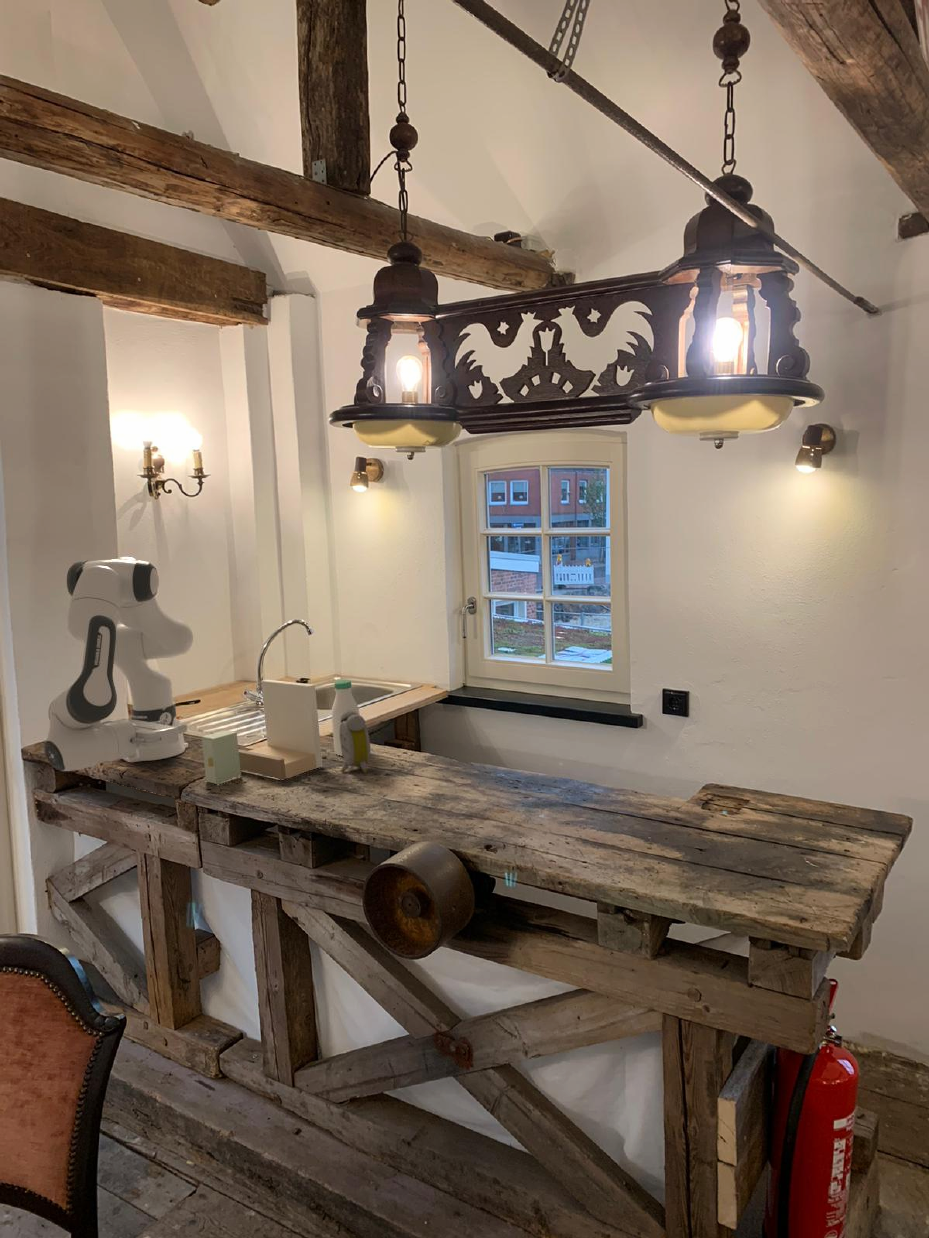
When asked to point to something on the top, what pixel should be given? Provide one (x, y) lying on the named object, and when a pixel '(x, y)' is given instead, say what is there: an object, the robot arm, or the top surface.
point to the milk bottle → (341, 710)
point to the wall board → (287, 732)
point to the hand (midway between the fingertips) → (174, 725)
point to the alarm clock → (354, 740)
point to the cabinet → (221, 756)
